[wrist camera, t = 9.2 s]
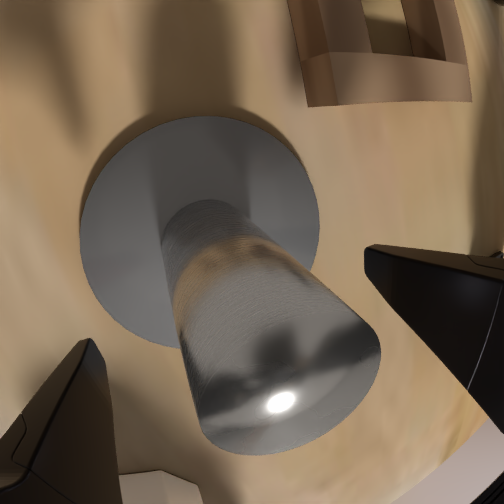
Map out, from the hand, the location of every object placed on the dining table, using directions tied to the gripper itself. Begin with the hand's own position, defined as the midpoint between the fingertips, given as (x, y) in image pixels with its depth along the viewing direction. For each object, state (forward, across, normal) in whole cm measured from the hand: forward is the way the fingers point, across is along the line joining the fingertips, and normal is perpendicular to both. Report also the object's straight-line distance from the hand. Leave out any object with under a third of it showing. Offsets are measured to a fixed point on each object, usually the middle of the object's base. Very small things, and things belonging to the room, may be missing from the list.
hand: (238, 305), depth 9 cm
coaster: (+6, 0, 0) cm, 6 cm away
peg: (+5, 0, 0) cm, 5 cm away
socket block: (+6, -11, -10) cm, 16 cm away
